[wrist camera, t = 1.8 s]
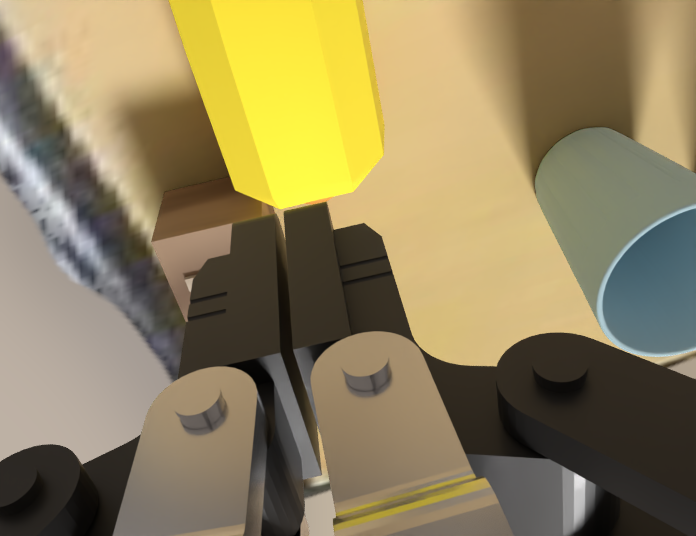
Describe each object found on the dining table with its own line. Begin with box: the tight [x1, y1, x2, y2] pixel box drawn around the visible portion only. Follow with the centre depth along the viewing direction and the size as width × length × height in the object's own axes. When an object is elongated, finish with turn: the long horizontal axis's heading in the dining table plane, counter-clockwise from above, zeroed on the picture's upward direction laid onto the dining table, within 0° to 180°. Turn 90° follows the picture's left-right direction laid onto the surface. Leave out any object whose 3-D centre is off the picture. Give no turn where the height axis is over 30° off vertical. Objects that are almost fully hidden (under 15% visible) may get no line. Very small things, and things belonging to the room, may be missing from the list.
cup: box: [535, 127, 696, 357], centre depth 31 cm, size 8×8×10 cm
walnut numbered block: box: [151, 177, 275, 322], centre depth 32 cm, size 5×5×5 cm
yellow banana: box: [169, 0, 384, 209], centre depth 26 cm, size 18×7×8 cm
